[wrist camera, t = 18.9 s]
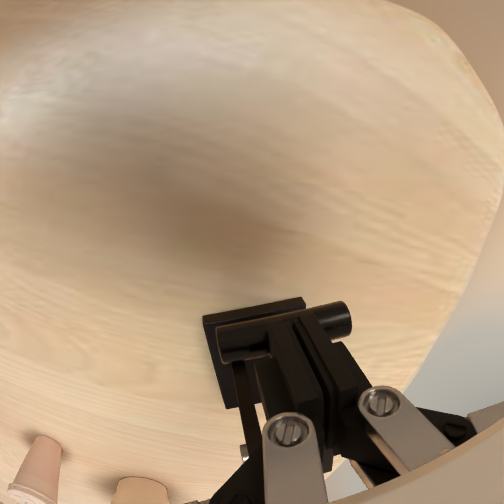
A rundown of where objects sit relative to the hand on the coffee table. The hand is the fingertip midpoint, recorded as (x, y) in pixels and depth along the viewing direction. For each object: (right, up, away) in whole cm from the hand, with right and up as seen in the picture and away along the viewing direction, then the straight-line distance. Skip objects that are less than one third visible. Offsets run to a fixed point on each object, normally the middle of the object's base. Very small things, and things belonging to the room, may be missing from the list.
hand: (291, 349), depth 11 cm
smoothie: (-27, -20, +17) cm, 38 cm away
